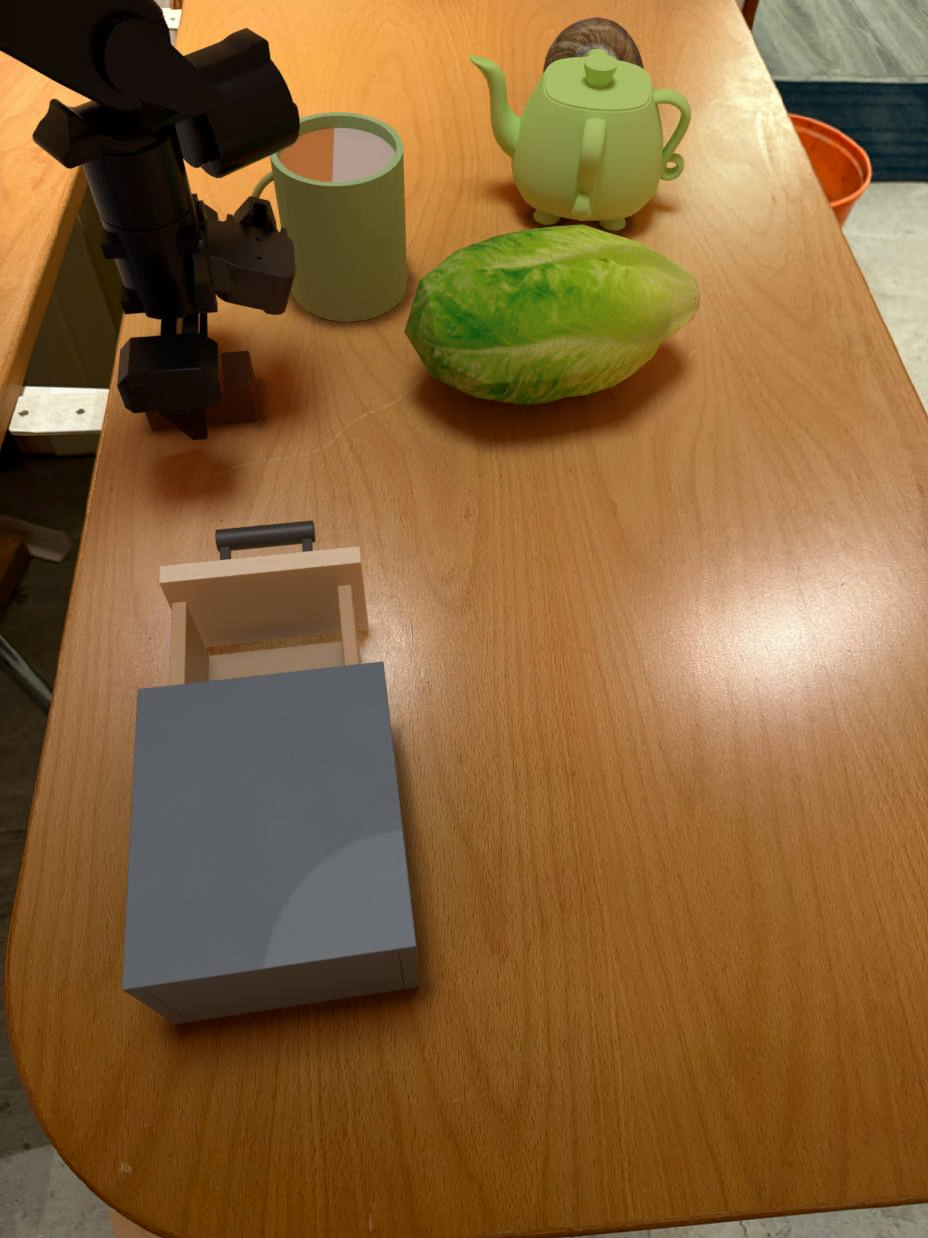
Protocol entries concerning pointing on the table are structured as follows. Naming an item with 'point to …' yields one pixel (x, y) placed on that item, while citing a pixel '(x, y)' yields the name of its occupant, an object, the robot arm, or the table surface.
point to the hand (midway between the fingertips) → (201, 394)
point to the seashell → (594, 42)
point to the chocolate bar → (227, 394)
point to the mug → (343, 215)
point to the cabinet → (266, 846)
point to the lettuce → (547, 313)
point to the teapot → (587, 138)
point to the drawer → (264, 605)
